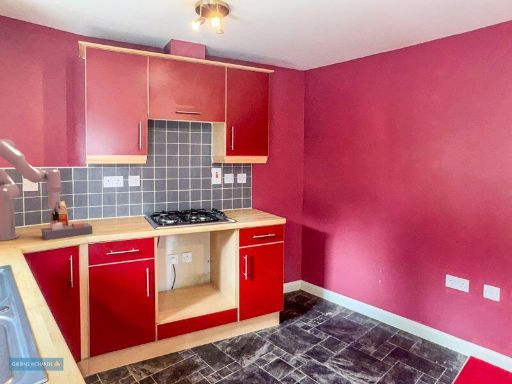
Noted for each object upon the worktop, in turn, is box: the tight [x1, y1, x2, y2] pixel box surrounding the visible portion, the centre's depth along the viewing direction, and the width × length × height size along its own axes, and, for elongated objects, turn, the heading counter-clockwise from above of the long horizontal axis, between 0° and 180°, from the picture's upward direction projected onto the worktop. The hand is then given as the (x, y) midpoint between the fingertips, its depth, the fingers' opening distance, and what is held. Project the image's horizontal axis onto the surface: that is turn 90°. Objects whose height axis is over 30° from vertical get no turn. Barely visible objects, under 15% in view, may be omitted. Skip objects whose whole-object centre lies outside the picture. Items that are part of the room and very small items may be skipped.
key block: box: [41, 222, 93, 241], centre depth 229 cm, size 11×26×5 cm, turn 130°
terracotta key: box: [71, 221, 85, 227], centre depth 232 cm, size 6×6×5 cm
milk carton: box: [49, 200, 70, 226], centre depth 242 cm, size 9×9×20 cm
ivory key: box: [49, 222, 63, 230], centre depth 225 cm, size 6×6×5 cm
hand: (56, 220), depth 224 cm, fingers closed
